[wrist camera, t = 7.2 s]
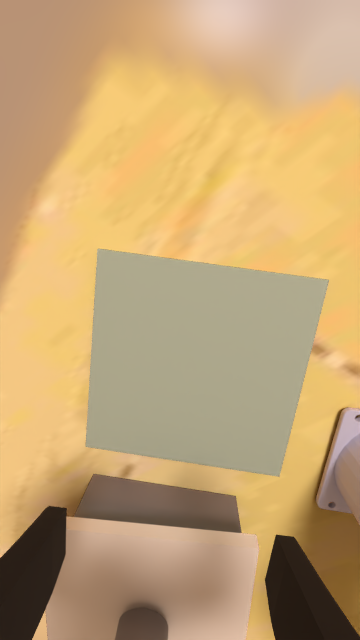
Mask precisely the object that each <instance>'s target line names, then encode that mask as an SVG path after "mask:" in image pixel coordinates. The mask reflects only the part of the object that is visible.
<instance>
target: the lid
mask: <svg viewBox="0 0 360 640" xmlns="http://www.w3.org/2000/svg"><path fill="white" fill-rule="evenodd" d="M258 553H259V546H258V541H257V536H256V535H254V534H244V533H234V532H223V531H213V530H203V529H192V528H182V527H172V526H161V525H151V524H141V523H130V522H120V521H110V520H99V519H89V518H79V517H68V516H66V555H65V558H64V561H63V564H62V567H61V570H60V573H59V576H58V579H57V581H56V584H55V587H54V590H53V593H52V595H51V597H50V600H49V602H48V604H47V607H46V609H45V610H46V623H47V636H48V640H246V634H247V627H248V620H249V613H250V607H251V600H252V593H253V586H254V580H255V573H256V566H257V559H258Z"/></svg>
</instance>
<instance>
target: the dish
mask: <svg viewBox="0 0 360 640" xmlns="http://www.w3.org/2000/svg"><path fill="white" fill-rule="evenodd" d="M74 517H79V518H89V519H99V520H110V521H120V522H130V523H141V524H151V525H161V526H172V527H182V528H192V529H203V530H213V531H223V532H234V533H241V527H240V521H239V514H238V508H237V501H236V496H231V495H224V494H218V493H212V492H205V491H199V490H192V489H186V488H180V487H173V486H167V485H160V484H154V483H148V482H141V481H135V480H128V479H122V478H116V477H109V476H103V475H97V474H93V476H92V479H91V481H90V483H89V485H88V487H87V489H86V492H85V494H84V496H83V498H82V500H81V502H80V504H79V507H78V509H77V511H76V513H75V515H74Z"/></svg>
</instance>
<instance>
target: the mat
mask: <svg viewBox="0 0 360 640" xmlns="http://www.w3.org/2000/svg"><path fill="white" fill-rule="evenodd" d="M328 282H329V280H326V279H318V278H311V277H304V276H296V275H289V274H282V273H274V272H267V271H259V270H252V269H245V268H237V267H230V266H222V265H215V264H208V263H200V262H193V261H186V260H178V259H171V258H163V257H156V256H149V255H141V254H134V253H127V252H119V251H112V250H104V249H98V251H97V267H96V284H95V300H94V317H93V333H92V350H91V366H90V383H89V400H88V416H87V433H86V447H90V448H97V449H103V450H110V451H116V452H123V453H129V454H136V455H142V456H149V457H155V458H162V459H168V460H175V461H181V462H188V463H194V464H200V465H207V466H213V467H220V468H226V469H233V470H239V471H246V472H252V473H259V474H265V475H272V476H278V477H279V476H280V472H281V468H282V464H283V460H284V456H285V452H286V448H287V444H288V440H289V436H290V433H291V429H292V425H293V421H294V417H295V413H296V409H297V405H298V401H299V397H300V393H301V389H302V385H303V381H304V377H305V373H306V369H307V365H308V361H309V357H310V353H311V350H312V346H313V342H314V338H315V334H316V330H317V326H318V322H319V318H320V314H321V310H322V306H323V302H324V298H325V294H326V290H327V286H328Z"/></svg>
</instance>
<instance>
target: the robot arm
mask: <svg viewBox="0 0 360 640" xmlns="http://www.w3.org/2000/svg"><path fill="white" fill-rule="evenodd" d="M357 415H360V409H358V408H351V407H350V408H345V409H344V410H343V411H342V412H341V415H340V419H339V422H338V425H337V429H336V432H335V435H334V439H333V442H332V446H331V449H330V452H329V456H328V459H327V463H326V466H325V469H324V473H323V476H322V479H321V483H320V486H319V490H318V493H317V496H316V503H317V505H318V507H319V508H321V509H326V510H332V511H339V512H345V513H352V514H353V515H354V517H355V518H356V520H357V522H358V524H359V525H360V416H359V417H358V418H355V417H356V416H357ZM330 502H332V503H330ZM66 511H67V508H60V507H52V506H49V507H47V508H46V509H45V510H44V511H43V512H42V513H41V515H40V516H39V517H38V518H37V519H36V520H35V521H34V522H33V524H32V525H31V526H30V527H29V528H28V529H27V530H26V531H25V532H24V534H23V535H22V536H21V537H20V538H19V539H18V540H17V541H16V542H15V543H14V544H13V545H12V547H11V548H10V549H9V550H8V551H7V552H6V553H5V554H4V555H3V556H2V557H1V558H0V640H32V638H33V636H34V634H35V631H36V629H37V627H38V625H39V622H40V620H41V618H42V616H43V613H44V611H45V609H46V607H47V604H48V602H49V600H50V597H51V595H52V593H53V590H54V587H55V584H56V581H57V579H58V576H59V573H60V570H61V567H62V564H63V561H64V558H65V555H66ZM265 583H266V590H267V597H268V604H269V610H270V617H271V623H272V627H273V631H274V636H275V640H360V636H359V635H358V633H357V632H356V631H355V629H354V628H353V626H352V625H351V623H350V622H349V621H348V619H347V618H346V616H345V615H344V613H343V612H342V610H341V609H340V607H339V606H338V604H337V603H336V601H335V600H334V598H333V597H332V595H331V594H330V592H329V591H328V589H327V588H326V586H325V585H324V583H323V582H322V580H321V578H320V577H319V575H318V574H317V572H316V571H315V569H314V567H313V566H312V564H311V563H310V561H309V560H308V558H307V556H306V555H305V553H304V552H303V550H302V548H301V547H300V545H299V544H298V542H297V540H296V539H295V538H294V537H290V536H282V535H276V537H275V541H274V545H273V549H272V553H271V557H270V562H269V566H268V570H267V574H266V578H265Z"/></svg>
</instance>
